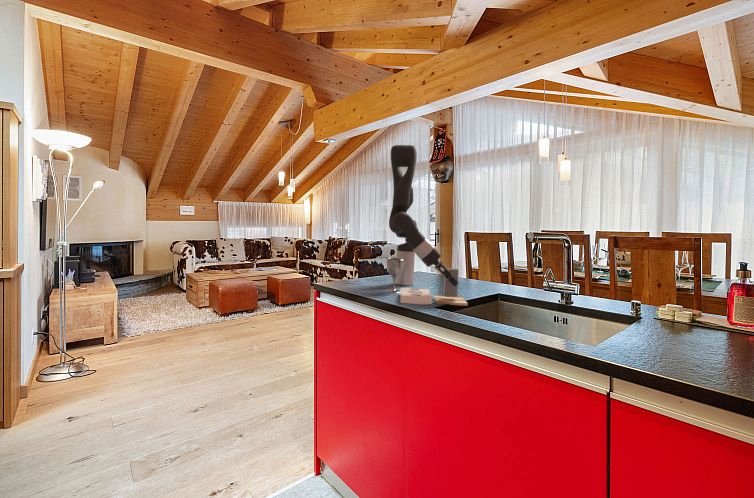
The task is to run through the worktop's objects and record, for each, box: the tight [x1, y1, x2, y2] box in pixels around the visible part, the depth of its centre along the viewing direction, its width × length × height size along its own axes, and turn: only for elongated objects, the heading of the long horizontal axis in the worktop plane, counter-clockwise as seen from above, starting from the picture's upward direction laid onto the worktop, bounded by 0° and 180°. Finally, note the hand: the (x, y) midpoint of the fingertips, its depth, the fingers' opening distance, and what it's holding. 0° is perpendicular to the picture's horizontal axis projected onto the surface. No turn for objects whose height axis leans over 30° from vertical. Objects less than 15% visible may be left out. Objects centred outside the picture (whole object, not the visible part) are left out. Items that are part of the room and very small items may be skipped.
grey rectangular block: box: [442, 267, 459, 297], centre depth 150 cm, size 4×5×11 cm
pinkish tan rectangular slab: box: [400, 287, 433, 306], centre depth 153 cm, size 18×12×3 cm, turn 176°
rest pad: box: [433, 295, 469, 307], centre depth 151 cm, size 13×12×1 cm
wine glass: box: [386, 257, 404, 294], centre depth 169 cm, size 8×8×15 cm
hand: (455, 283), depth 150 cm, fingers closed on grey rectangular block, 4 cm apart
